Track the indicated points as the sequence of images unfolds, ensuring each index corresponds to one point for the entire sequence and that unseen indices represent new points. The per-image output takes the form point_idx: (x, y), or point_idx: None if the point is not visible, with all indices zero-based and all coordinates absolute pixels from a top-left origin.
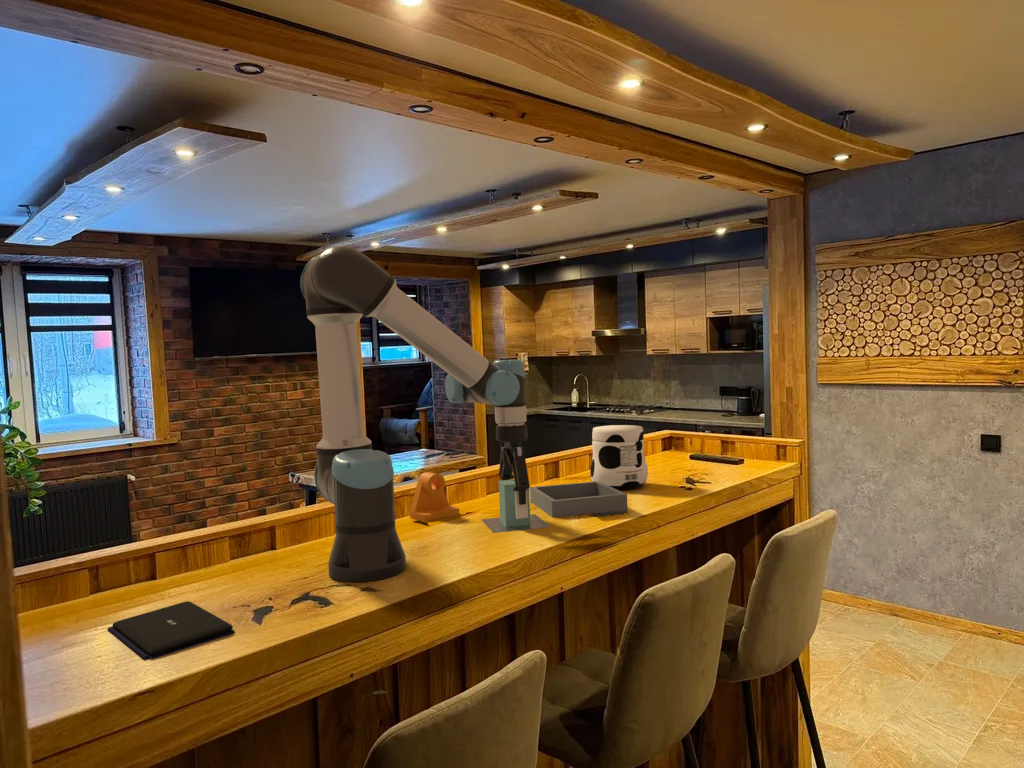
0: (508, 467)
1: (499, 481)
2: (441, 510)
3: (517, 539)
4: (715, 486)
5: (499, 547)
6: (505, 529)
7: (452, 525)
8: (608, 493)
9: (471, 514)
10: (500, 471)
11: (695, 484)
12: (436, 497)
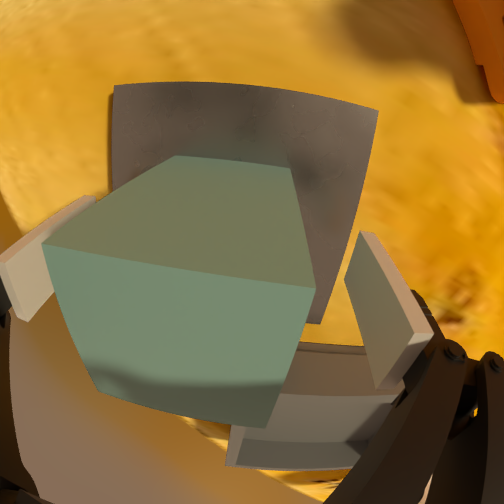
0: (352, 483)
1: (268, 282)
2: (501, 27)
3: (73, 160)
4: (308, 488)
5: (29, 94)
6: (138, 141)
7: (399, 10)
8: (304, 458)
9: (501, 160)
10: (486, 387)
11: (333, 484)
12: None
